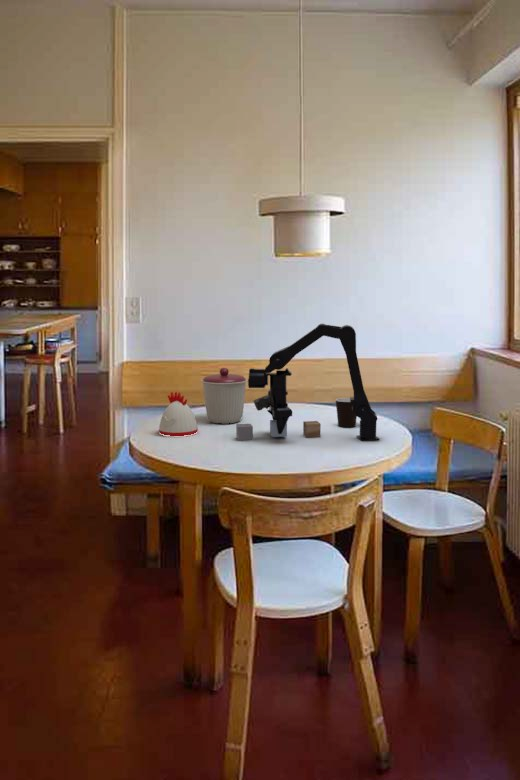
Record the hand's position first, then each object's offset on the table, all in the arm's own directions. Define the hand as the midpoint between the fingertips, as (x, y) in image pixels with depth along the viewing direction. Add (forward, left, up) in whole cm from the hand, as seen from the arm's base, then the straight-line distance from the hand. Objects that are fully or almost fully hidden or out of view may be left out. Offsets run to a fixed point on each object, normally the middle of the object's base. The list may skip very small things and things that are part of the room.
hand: (278, 432), depth 258 cm
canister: (+32, +15, -2) cm, 35 cm away
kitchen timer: (+15, +34, -2) cm, 37 cm away
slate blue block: (0, 0, -1) cm, 1 cm away
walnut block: (0, -12, -2) cm, 12 cm away
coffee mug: (+15, -30, -2) cm, 34 cm away
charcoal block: (0, +12, -2) cm, 12 cm away
